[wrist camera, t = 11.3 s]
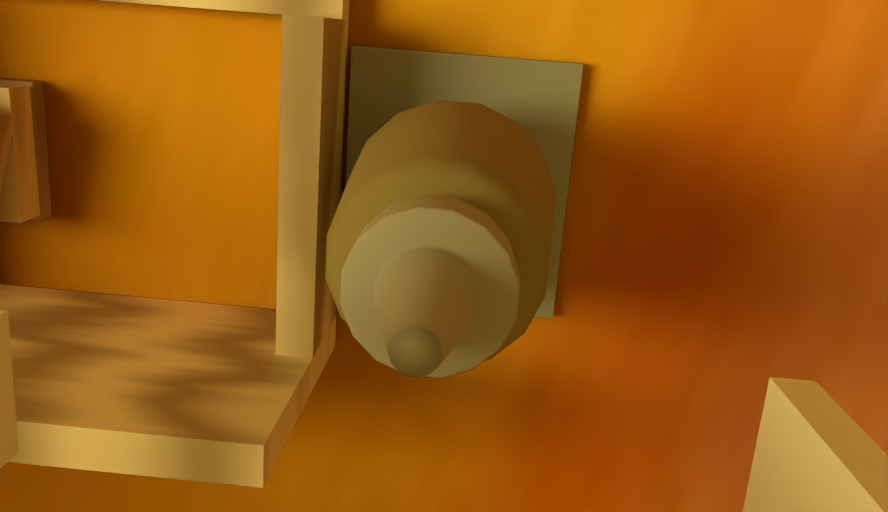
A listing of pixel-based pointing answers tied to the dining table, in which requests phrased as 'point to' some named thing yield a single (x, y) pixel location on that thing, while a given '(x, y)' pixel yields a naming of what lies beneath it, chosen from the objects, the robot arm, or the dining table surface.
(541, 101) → the mat
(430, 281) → the squeeze bottle
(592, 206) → the dining table surface
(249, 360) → the rack
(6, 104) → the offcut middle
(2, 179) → the offcut top
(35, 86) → the offcut bottom
